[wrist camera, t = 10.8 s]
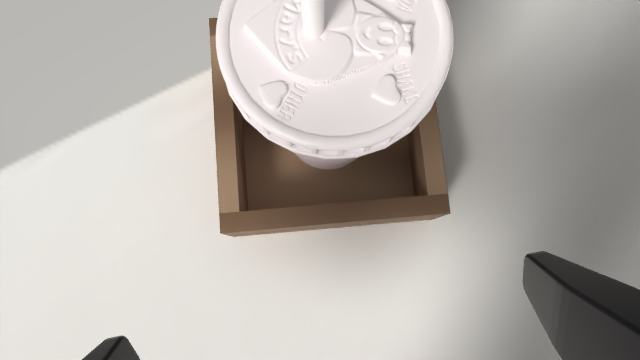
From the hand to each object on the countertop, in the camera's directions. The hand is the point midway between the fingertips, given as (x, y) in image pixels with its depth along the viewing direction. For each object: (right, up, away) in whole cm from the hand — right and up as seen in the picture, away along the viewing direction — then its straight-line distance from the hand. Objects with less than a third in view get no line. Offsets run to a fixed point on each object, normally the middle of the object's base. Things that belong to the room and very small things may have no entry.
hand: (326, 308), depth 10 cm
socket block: (0, +5, +12) cm, 13 cm away
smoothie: (0, +5, +12) cm, 13 cm away
